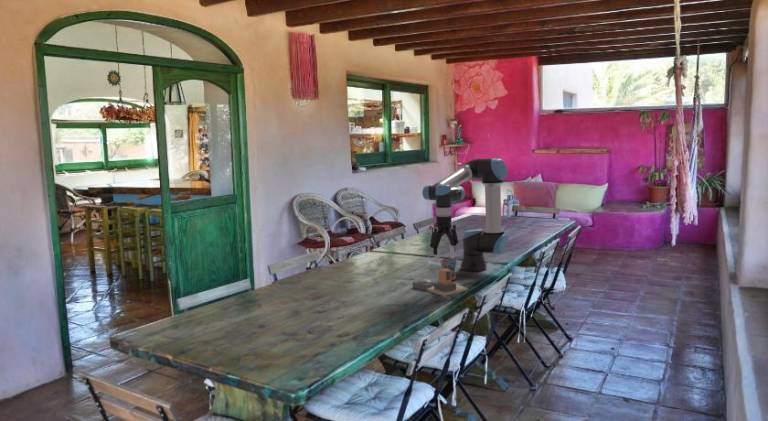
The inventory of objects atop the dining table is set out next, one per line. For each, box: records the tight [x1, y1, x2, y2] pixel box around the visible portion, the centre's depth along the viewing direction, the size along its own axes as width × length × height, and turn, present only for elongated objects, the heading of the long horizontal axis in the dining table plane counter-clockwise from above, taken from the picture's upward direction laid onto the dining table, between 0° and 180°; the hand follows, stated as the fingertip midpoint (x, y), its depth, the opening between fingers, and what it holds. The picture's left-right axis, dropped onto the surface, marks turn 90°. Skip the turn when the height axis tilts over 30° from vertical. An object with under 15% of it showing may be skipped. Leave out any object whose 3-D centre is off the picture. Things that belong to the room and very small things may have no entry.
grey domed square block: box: [411, 277, 439, 292], centre depth 300 cm, size 10×10×4 cm
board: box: [427, 281, 469, 297], centre depth 293 cm, size 16×16×4 cm
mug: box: [439, 258, 458, 282], centre depth 314 cm, size 12×9×11 cm
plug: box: [438, 268, 452, 285], centre depth 289 cm, size 4×6×10 cm
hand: (444, 259), depth 288 cm, fingers open, 9 cm apart
